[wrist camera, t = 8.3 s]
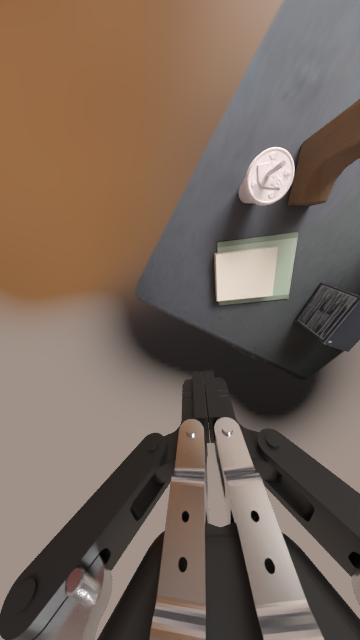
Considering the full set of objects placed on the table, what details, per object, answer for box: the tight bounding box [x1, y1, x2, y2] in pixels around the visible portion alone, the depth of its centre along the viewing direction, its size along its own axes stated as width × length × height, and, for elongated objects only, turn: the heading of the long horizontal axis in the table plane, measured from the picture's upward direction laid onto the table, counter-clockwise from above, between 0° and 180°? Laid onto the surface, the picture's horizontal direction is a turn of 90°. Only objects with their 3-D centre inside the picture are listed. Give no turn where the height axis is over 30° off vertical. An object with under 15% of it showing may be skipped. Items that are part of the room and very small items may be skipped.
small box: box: [295, 282, 360, 352], centre depth 38 cm, size 11×6×10 cm, turn 161°
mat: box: [217, 232, 298, 305], centre depth 39 cm, size 16×14×1 cm
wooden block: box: [288, 99, 360, 206], centre depth 24 cm, size 9×4×18 cm, turn 179°
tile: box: [214, 246, 278, 301], centre depth 38 cm, size 2×10×12 cm
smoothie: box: [238, 147, 295, 206], centre depth 27 cm, size 6×6×14 cm
